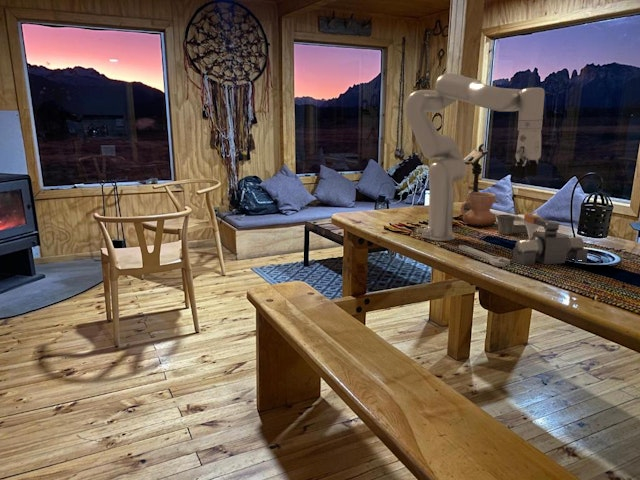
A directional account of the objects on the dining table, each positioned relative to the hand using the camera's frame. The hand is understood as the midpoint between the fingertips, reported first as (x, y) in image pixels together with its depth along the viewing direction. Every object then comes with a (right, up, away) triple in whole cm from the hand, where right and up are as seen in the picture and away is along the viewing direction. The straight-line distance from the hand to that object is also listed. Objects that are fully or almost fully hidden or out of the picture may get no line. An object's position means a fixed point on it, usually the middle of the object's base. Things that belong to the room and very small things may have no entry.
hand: (526, 176), depth 167 cm
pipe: (+8, -20, +35) cm, 41 cm away
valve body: (+7, -29, -2) cm, 30 cm away
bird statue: (+5, -8, +78) cm, 79 cm away
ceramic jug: (0, -15, +52) cm, 54 cm away
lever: (+6, -17, +1) cm, 18 cm away
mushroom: (+11, -23, +22) cm, 34 cm away
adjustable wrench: (-13, -28, +4) cm, 32 cm away
